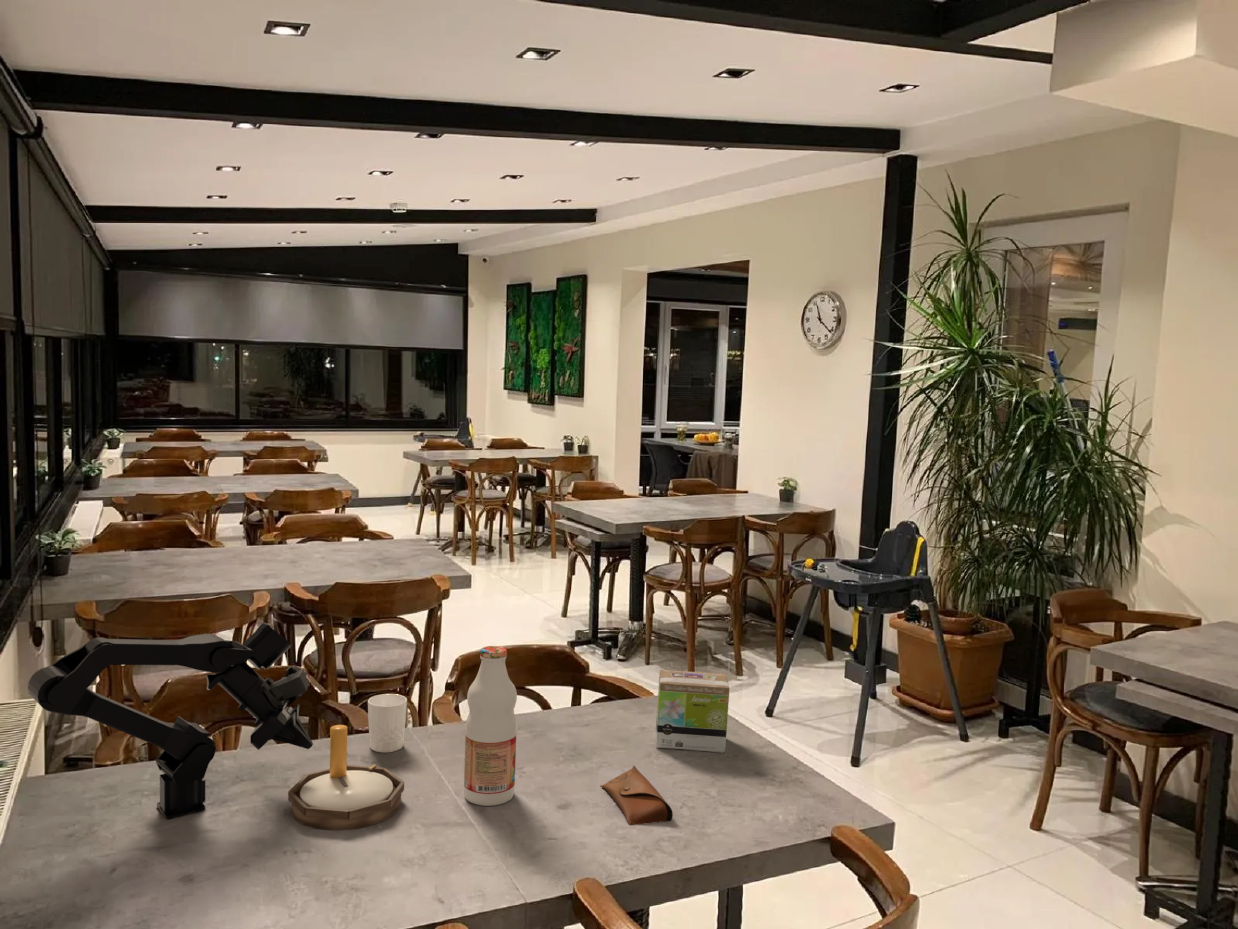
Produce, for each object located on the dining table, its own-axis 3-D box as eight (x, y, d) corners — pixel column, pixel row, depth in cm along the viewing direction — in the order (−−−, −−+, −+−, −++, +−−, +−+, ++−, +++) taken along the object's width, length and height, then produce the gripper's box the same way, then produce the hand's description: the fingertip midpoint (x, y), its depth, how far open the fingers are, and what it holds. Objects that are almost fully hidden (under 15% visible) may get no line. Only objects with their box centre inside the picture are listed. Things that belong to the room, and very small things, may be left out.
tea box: (655, 750, 204) (658, 682, 202) (655, 732, 214) (658, 668, 212) (726, 754, 203) (729, 686, 202) (722, 736, 213) (726, 671, 212)
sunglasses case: (596, 784, 185) (613, 754, 186) (624, 798, 187) (642, 768, 188) (629, 826, 168) (648, 793, 169) (660, 841, 171) (679, 808, 171)
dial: (321, 821, 160) (322, 765, 160) (286, 788, 173) (286, 735, 172) (408, 798, 171) (409, 744, 170) (369, 767, 183) (370, 718, 182)
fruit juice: (453, 794, 178) (457, 647, 176) (493, 781, 185) (497, 639, 182) (484, 812, 171) (488, 659, 169) (524, 797, 178) (529, 650, 176)
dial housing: (316, 841, 158) (316, 819, 158) (274, 799, 173) (275, 779, 173) (419, 811, 171) (420, 791, 170) (372, 774, 185) (373, 756, 185)
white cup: (400, 755, 195) (401, 707, 194) (362, 753, 196) (363, 705, 195) (409, 740, 203) (410, 694, 202) (373, 738, 203) (373, 692, 202)
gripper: (270, 673, 164) (335, 735, 167) (291, 643, 183) (350, 699, 185) (222, 718, 164) (288, 779, 167) (248, 683, 182) (307, 739, 185)
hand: (311, 746), depth 176 cm, fingers closed
